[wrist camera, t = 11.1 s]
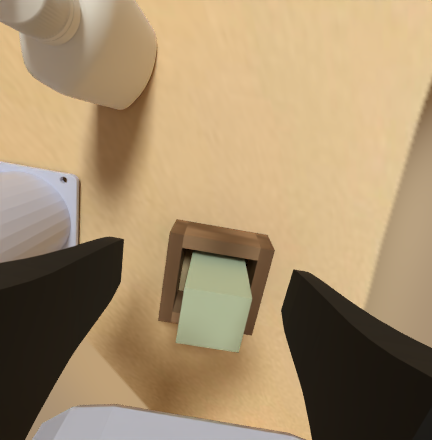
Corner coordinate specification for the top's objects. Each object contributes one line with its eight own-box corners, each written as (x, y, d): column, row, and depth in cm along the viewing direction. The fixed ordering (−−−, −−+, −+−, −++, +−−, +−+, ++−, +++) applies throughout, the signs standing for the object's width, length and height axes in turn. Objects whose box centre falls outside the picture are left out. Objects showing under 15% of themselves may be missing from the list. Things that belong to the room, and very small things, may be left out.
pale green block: (188, 283, 23) (175, 342, 16) (195, 241, 22) (184, 287, 15) (233, 290, 23) (238, 352, 17) (242, 249, 22) (252, 298, 15)
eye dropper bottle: (75, 59, 18) (-183, -76, 6) (142, 8, 17) (-21, -257, 5) (114, 118, 19) (-47, 92, 8) (179, 74, 18) (107, -34, 7)
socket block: (165, 298, 23) (158, 320, 21) (176, 219, 21) (169, 232, 18) (248, 311, 24) (251, 335, 21) (267, 235, 21) (274, 250, 19)
